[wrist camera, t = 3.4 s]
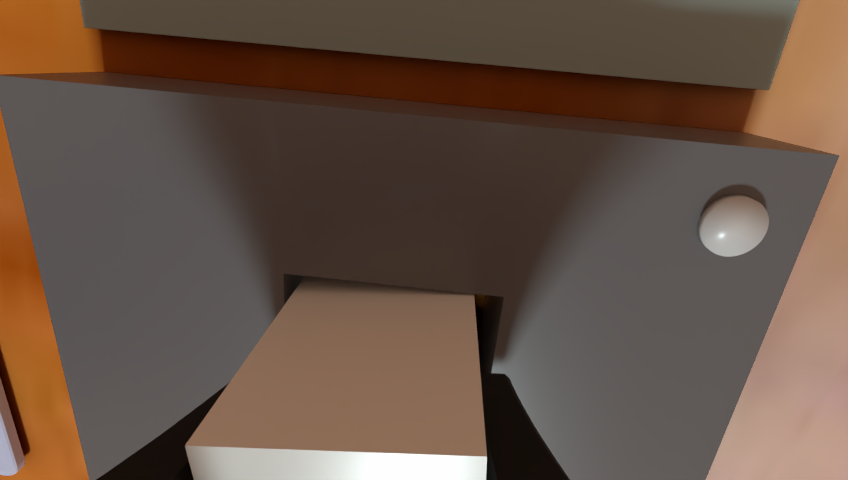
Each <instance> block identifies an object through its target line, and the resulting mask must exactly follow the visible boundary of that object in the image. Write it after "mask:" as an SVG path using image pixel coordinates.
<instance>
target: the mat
mask: <svg viewBox="0 0 848 480" xmlns="http://www.w3.org/2000/svg"><path fill="white" fill-rule="evenodd" d="M799 1H800V0H80V5H81V11H82V17H83V23H84V28H94V29H105V30H116V31H127V32H138V33H149V34H160V35H171V36H181V37H192V38H203V39H214V40H225V41H236V42H247V43H258V44H269V45H280V46H290V47H301V48H312V49H323V50H334V51H345V52H356V53H367V54H378V55H389V56H400V57H410V58H421V59H432V60H443V61H454V62H465V63H476V64H487V65H498V66H509V67H519V68H530V69H541V70H552V71H563V72H574V73H585V74H596V75H607V76H618V77H629V78H639V79H650V80H661V81H672V82H683V83H694V84H705V85H716V86H727V87H738V88H748V89H759V90H769V89H770V86H771V83H772V80H773V77H774V74H775V71H776V68H777V65H778V62H779V60H780V57H781V54H782V51H783V48H784V45H785V42H786V39H787V36H788V33H789V30H790V27H791V24H792V21H793V18H794V15H795V13H796V10H797V7H798V4H799Z"/></svg>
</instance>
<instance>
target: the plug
mask: <svg viewBox="0 0 848 480" xmlns="http://www.w3.org/2000/svg"><path fill="white" fill-rule="evenodd" d="M185 448H186V452H187V456H188V460H189V464H190V468H191V471H192V475H193V479H194V480H486V470H487V450H486V437H485V425H484V412H483V400H482V387H481V374H480V362H479V349H478V337H477V324H476V311H475V299H474V294H471V293H461V292H452V291H443V290H433V289H424V288H414V287H405V286H396V285H386V284H377V283H367V282H358V281H348V280H339V279H330V278H320V277H311V276H305V277H304V278H303V280H302V281H301V282H300V284H299V285H298V287H297V288H296V289H295V291H294V292H293V294H292V295H291V296H290V298H289V299H288V301H287V302H286V303H285V305H284V306H283V308H282V309H281V311H280V312H279V313H278V315H277V316H276V318H275V319H274V320H273V322H272V323H271V325H270V326H269V327H268V329H267V330H266V332H265V333H264V335H263V336H262V337H261V339H260V340H259V342H258V343H257V344H256V346H255V347H254V349H253V350H252V351H251V353H250V354H249V356H248V357H247V359H246V360H245V361H244V363H243V364H242V366H241V367H240V368H239V370H238V371H237V373H236V374H235V375H234V377H233V378H232V380H231V381H230V383H229V384H228V385H227V387H226V388H225V390H224V391H223V392H222V394H221V395H220V397H219V398H218V399H217V401H216V402H215V404H214V405H213V407H212V408H211V409H210V411H209V412H208V414H207V415H206V416H205V418H204V419H203V421H202V422H201V423H200V425H199V426H198V428H197V429H196V431H195V432H194V433H193V435H192V436H191V438H190V439H189V440H188V442H187V443H186V445H185Z"/></svg>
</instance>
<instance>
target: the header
mask: <svg viewBox="0 0 848 480" xmlns="http://www.w3.org/2000/svg"><path fill="white" fill-rule="evenodd" d="M0 107H1V111H2V116H3V120H4V124H5V128H6V132H7V137H8V141H9V145H10V149H11V153H12V157H13V162H14V166H15V170H16V174H17V178H18V183H19V187H20V191H21V195H22V199H23V203H24V208H25V212H26V216H27V220H28V224H29V229H30V233H31V237H32V241H33V245H34V249H35V254H36V258H37V262H38V266H39V270H40V275H41V279H42V283H43V287H44V291H45V295H46V300H47V304H48V308H49V312H50V316H51V321H52V325H53V329H54V333H55V337H56V341H57V346H58V350H59V354H60V358H61V362H62V367H63V371H64V375H65V379H66V383H67V387H68V392H69V396H70V400H71V404H72V408H73V413H74V417H75V421H76V425H77V429H78V433H79V438H80V442H81V446H82V450H83V454H84V459H85V463H86V467H87V471H88V475H89V479H90V480H96V479H98V478H99V477H101V476H102V475H104V474H105V473H107V472H108V471H110V470H111V469H112V468H114V467H115V466H117V465H118V464H120V463H121V462H122V461H124V460H125V459H127V458H128V457H130V456H131V455H132V454H134V453H135V452H137V451H138V450H140V449H141V448H142V447H144V446H145V445H147V444H148V443H150V442H151V441H152V440H154V439H155V438H157V437H158V436H159V435H161V434H162V433H164V432H165V431H166V430H168V429H169V428H170V427H172V426H173V425H174V424H176V423H177V422H178V421H179V420H181V419H182V418H183V417H185V416H186V415H187V414H189V413H190V412H191V411H193V410H194V409H195V408H197V407H198V406H199V405H201V404H202V403H203V402H205V401H206V400H207V399H209V398H210V397H211V396H212V395H214V394H215V393H216V392H218V391H219V390H220V389H222V388H223V387H224V386H225V385H227V384H228V383H229V382H230V381H231V380H232V378H233V377H234V375H235V374H236V373H237V371H238V370H239V368H240V367H241V366H242V364H243V363H244V361H245V360H246V359H247V357H248V356H249V354H250V353H251V351H252V350H253V349H254V347H255V346H256V344H257V343H258V342H259V340H260V339H261V337H262V336H263V335H264V333H265V332H266V330H267V329H268V327H269V326H270V325H271V323H272V322H273V320H274V319H275V318H276V316H277V315H278V313H279V312H280V311H281V309H282V308H283V306H284V305H285V303H286V302H287V301H288V299H289V298H290V296H291V295H292V294H293V292H294V291H295V289H296V288H297V287H298V285H299V284H300V282H301V281H302V280H303V278H304V277H305V276H311V277H320V278H330V279H339V280H348V281H358V282H367V283H377V284H386V285H396V286H405V287H414V288H424V289H433V290H443V291H452V292H461V293H471V294H480V295H486V298H485V304H484V311H483V318H482V324H481V331H480V338H479V344H478V349H479V362H480V373H499V374H506V375H507V376H508V377H509V378H510V380H511V383H512V385H513V387H514V389H515V391H516V393H517V395H518V397H519V399H520V401H521V403H522V405H523V407H524V408H525V410H526V412H527V414H528V415H529V417H530V419H531V421H532V422H533V424H534V426H535V427H536V429H537V431H538V432H539V434H540V435H541V437H542V439H543V440H544V442H545V443H546V445H547V446H548V448H549V449H550V451H551V452H552V454H553V455H554V457H555V459H556V460H557V462H558V463H559V464H560V466H561V467H562V469H563V470H564V472H565V473H566V475H567V476H568V477H569V479H570V480H705V479H706V477H707V475H708V472H709V470H710V467H711V465H712V463H713V460H714V458H715V455H716V453H717V450H718V448H719V446H720V443H721V441H722V438H723V436H724V433H725V431H726V429H727V426H728V424H729V421H730V419H731V417H732V414H733V412H734V409H735V407H736V404H737V402H738V400H739V397H740V395H741V392H742V390H743V387H744V385H745V383H746V380H747V378H748V375H749V373H750V371H751V368H752V366H753V363H754V361H755V358H756V356H757V354H758V351H759V349H760V346H761V344H762V341H763V339H764V337H765V334H766V332H767V329H768V327H769V325H770V322H771V320H772V317H773V315H774V312H775V310H776V308H777V305H778V303H779V300H780V298H781V296H782V293H783V291H784V288H785V286H786V283H787V281H788V279H789V276H790V274H791V271H792V269H793V266H794V264H795V262H796V259H797V257H798V254H799V252H800V250H801V247H802V245H803V242H804V240H805V237H806V235H807V233H808V230H809V228H810V225H811V223H812V220H813V218H814V216H815V213H816V211H817V208H818V206H819V204H820V201H821V199H822V196H823V194H824V191H825V189H826V187H827V184H828V182H829V179H830V177H831V174H832V172H833V170H834V167H835V165H836V162H837V160H838V158H839V155H835V154H831V153H827V152H822V151H818V150H814V149H810V148H806V147H802V146H798V145H794V144H790V143H785V142H781V141H777V140H773V139H769V138H765V137H761V136H757V135H753V134H748V133H744V132H734V131H724V130H713V129H703V128H692V127H681V126H671V125H660V124H650V123H639V122H628V121H618V120H607V119H597V118H586V117H576V116H565V115H554V114H544V113H533V112H523V111H512V110H501V109H491V108H480V107H470V106H459V105H449V104H438V103H427V102H417V101H406V100H396V99H385V98H374V97H364V96H353V95H343V94H332V93H321V92H311V91H300V90H290V89H279V88H269V87H258V86H247V85H237V84H226V83H216V82H205V81H194V80H184V79H173V78H163V77H152V76H142V75H131V74H120V73H110V72H80V73H43V74H6V75H0Z"/></svg>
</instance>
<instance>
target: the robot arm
mask: <svg viewBox="0 0 848 480" xmlns="http://www.w3.org/2000/svg"><path fill="white" fill-rule="evenodd" d="M480 374H481V387H482V400H483V412H484V425H485V437H486V450H487V470H486V480H570V479H569V477H568V476H567V475H566V473H565V472H564V470H563V469H562V467H561V466H560V464H559V463H558V462H557V460H556V459H555V457H554V455H553V454H552V452H551V451H550V449H549V448H548V446H547V445H546V443H545V442H544V440H543V439H542V437H541V435H540V434H539V432H538V431H537V429H536V427H535V426H534V424H533V422H532V421H531V419H530V417H529V415H528V414H527V412H526V410H525V408H524V407H523V405H522V403H521V401H520V399H519V397H518V395H517V393H516V391H515V389H514V387H513V385H512V383H511V380H510V378H509V377H508V376H507V375H506V374H499V373H480ZM229 383H230V382H229ZM229 383H228V384H229ZM228 384H227V385H228ZM227 385H225V386H224V387H223V388H222V389H220V390H219V391H218V392H216V393H215V394H214V395H212V396H211V397H210V398H209V399H207V400H206V401H205V402H203V403H202V404H201V405H199V406H198V407H197V408H195V409H194V410H193V411H191V412H190V413H189V414H187V415H186V416H185V417H183V418H182V419H181V420H179V421H178V422H177V423H176V424H174V425H173V426H172V427H170V428H169V429H168V430H166V431H165V432H164V433H162V434H161V435H159V436H158V437H157V438H155V439H154V440H152V441H151V442H150V443H148V444H147V445H145V446H144V447H142V448H141V449H140V450H138V451H137V452H135V453H134V454H132V455H131V456H130V457H128V458H127V459H125V460H124V461H122V462H121V463H120V464H118V465H117V466H115V467H114V468H112V469H111V470H110V471H108V472H107V473H105V474H104V475H102V476H101V477H99V478H98V479H96V480H194V479H193V475H192V471H191V468H190V464H189V460H188V456H187V452H186V448H185V445H186V443H187V442H188V440H189V439H190V438H191V436H192V435H193V433H194V432H195V431H196V429H197V428H198V426H199V425H200V423H201V422H202V421H203V419H204V418H205V416H206V415H207V414H208V412H209V411H210V409H211V408H212V407H213V405H214V404H215V402H216V401H217V399H218V398H219V397H220V395H221V394H222V392H223V391H224V390H225V388H226V387H227ZM24 464H25V458H24V455H23V451H22V448H21V445H20V441H19V438H18V435H17V431H16V428H15V425H14V421H13V418H12V415H11V411H10V408H9V405H8V401H7V398H6V395H5V391H4V388H3V385H2V381H1V378H0V475H5V476H6V475H14V474H16V473H17V472H18V471H19V470H20V469H21V468H22V467H23V466H24Z"/></svg>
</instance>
